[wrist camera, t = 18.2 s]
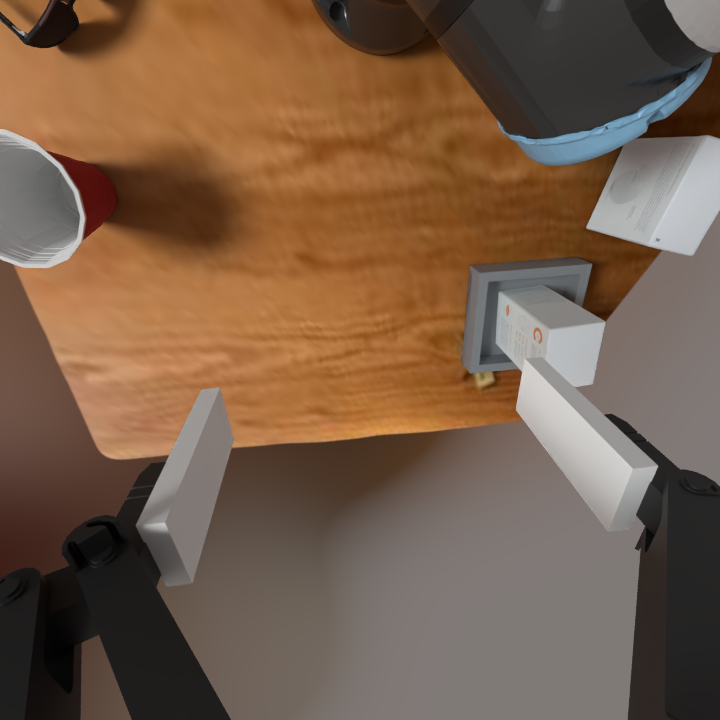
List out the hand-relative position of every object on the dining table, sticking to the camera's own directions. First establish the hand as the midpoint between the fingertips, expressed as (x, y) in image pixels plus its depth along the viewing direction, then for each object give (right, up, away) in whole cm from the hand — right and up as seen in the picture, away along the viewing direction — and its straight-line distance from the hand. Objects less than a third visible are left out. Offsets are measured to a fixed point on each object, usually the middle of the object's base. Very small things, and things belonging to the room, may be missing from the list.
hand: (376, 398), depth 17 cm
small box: (+21, +8, +37) cm, 43 cm away
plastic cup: (-31, +20, +26) cm, 45 cm away
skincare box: (+32, +23, +31) cm, 50 cm away
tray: (+21, +8, +38) cm, 44 cm away
